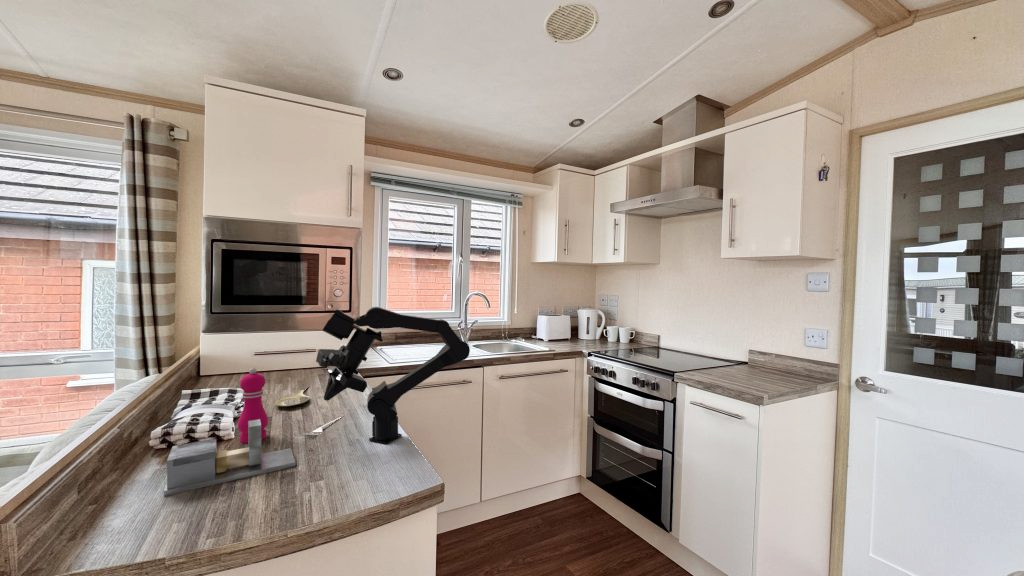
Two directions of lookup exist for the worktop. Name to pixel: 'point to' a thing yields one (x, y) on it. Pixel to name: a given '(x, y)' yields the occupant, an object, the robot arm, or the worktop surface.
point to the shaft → (242, 451)
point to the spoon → (297, 395)
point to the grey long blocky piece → (214, 466)
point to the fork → (322, 427)
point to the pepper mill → (252, 404)
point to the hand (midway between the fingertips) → (325, 399)
